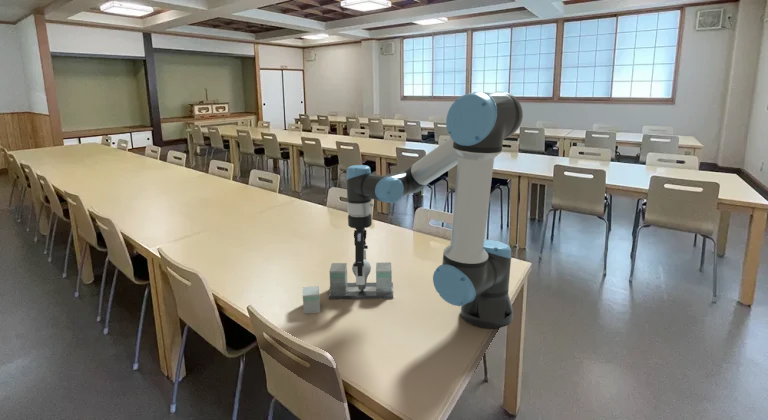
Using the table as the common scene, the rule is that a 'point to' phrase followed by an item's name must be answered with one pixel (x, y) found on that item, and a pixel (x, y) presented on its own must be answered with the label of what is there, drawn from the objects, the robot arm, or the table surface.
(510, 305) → the robot arm
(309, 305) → the module
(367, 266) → the lightbulb
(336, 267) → the grey u-shaped piece
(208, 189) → the table surface
